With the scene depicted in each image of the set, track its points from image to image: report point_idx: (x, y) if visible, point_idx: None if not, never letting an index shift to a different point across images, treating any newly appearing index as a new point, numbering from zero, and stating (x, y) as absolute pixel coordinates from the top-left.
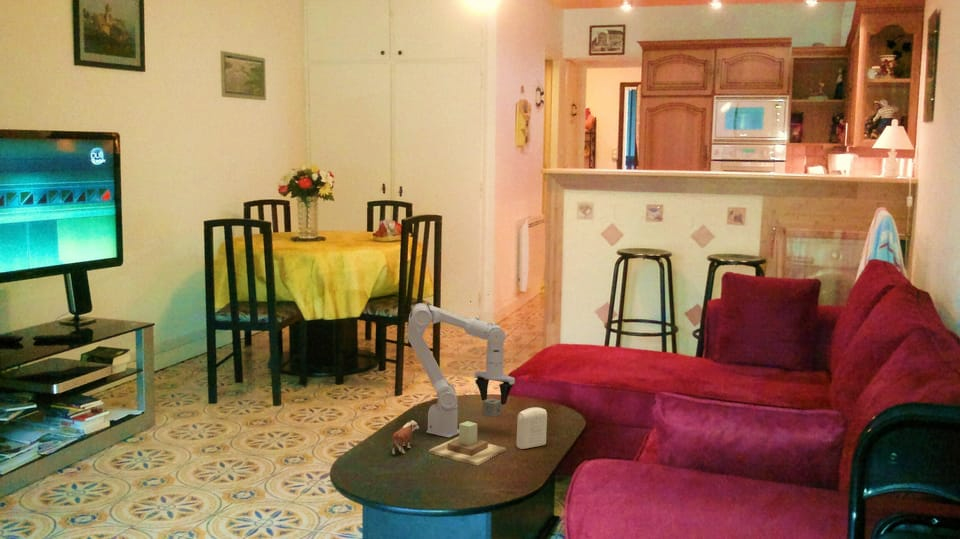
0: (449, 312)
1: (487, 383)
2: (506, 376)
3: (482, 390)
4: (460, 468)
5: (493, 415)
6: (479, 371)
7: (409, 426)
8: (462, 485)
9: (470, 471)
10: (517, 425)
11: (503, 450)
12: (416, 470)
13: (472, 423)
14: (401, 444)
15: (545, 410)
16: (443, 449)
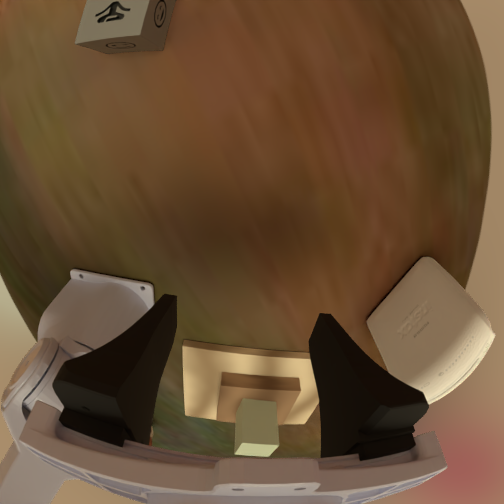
0: None
1: (138, 373)
2: (378, 480)
3: (158, 383)
4: (279, 430)
5: (156, 48)
6: (37, 450)
7: None
8: (305, 450)
9: (300, 431)
10: (388, 368)
11: None
12: (219, 445)
13: (265, 447)
14: (150, 436)
15: (494, 336)
16: (208, 409)
